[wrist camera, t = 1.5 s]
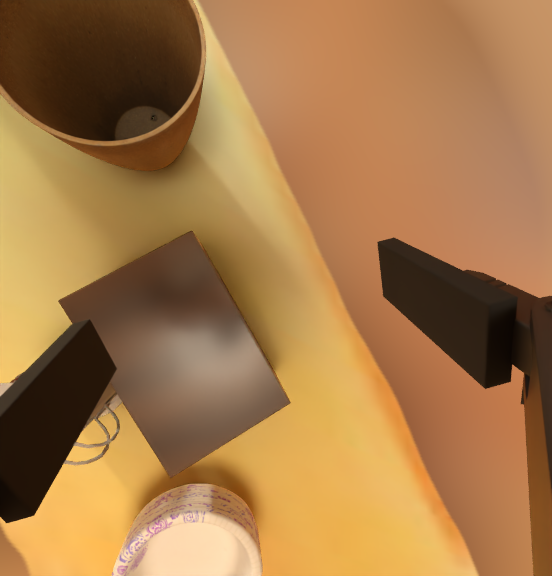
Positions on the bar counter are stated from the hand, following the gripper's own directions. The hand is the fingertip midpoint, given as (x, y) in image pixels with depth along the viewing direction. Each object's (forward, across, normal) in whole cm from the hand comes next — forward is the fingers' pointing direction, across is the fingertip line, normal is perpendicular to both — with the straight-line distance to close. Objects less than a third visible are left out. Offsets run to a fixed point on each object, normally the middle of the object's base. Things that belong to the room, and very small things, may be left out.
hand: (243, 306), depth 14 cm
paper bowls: (+14, -15, -34) cm, 39 cm away
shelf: (+22, -9, -12) cm, 27 cm away
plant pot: (+30, -8, +10) cm, 33 cm away
